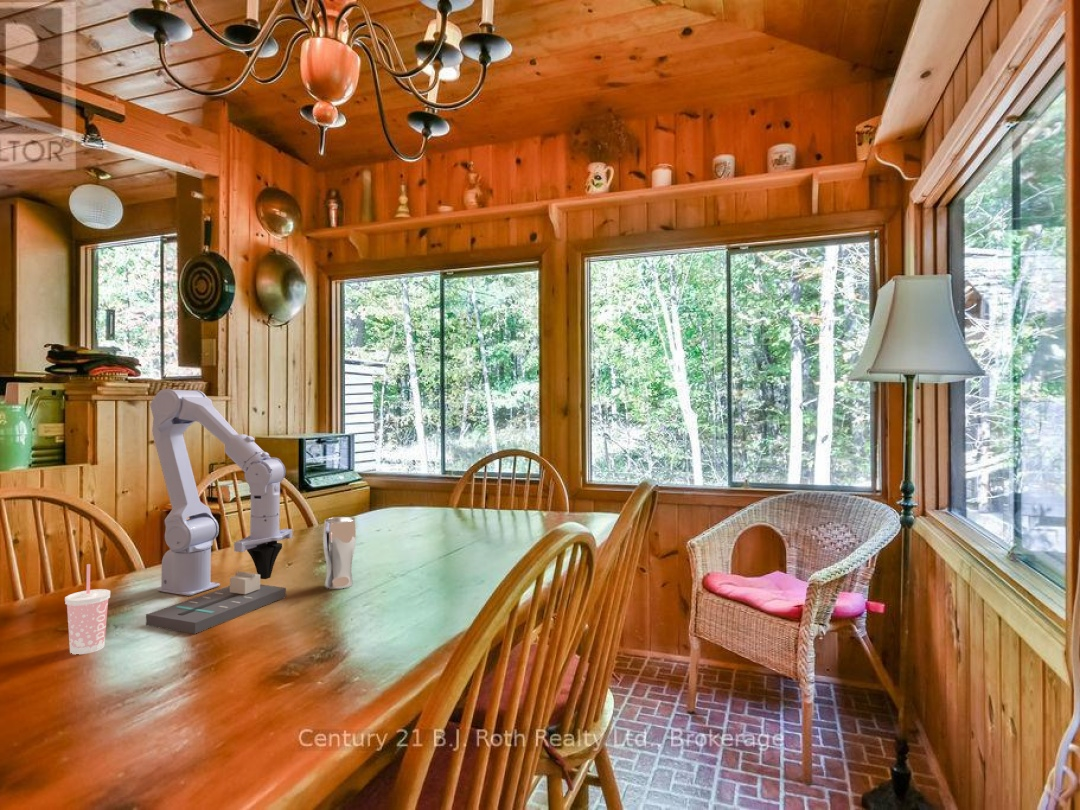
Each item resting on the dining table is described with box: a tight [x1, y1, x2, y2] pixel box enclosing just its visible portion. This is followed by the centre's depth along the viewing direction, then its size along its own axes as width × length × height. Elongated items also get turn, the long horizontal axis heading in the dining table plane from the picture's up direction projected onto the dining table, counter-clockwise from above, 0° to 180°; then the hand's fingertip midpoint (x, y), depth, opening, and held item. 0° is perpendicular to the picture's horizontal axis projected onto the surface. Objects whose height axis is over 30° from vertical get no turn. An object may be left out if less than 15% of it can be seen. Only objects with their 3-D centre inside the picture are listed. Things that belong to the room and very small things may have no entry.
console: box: [145, 583, 287, 635], centre depth 118 cm, size 12×22×2 cm, turn 161°
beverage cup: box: [64, 563, 111, 655], centre depth 99 cm, size 6×6×14 cm
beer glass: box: [322, 516, 357, 590], centre depth 136 cm, size 7×7×15 cm
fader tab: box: [229, 571, 261, 594], centre depth 124 cm, size 4×4×4 cm
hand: (264, 578), depth 129 cm, fingers closed
